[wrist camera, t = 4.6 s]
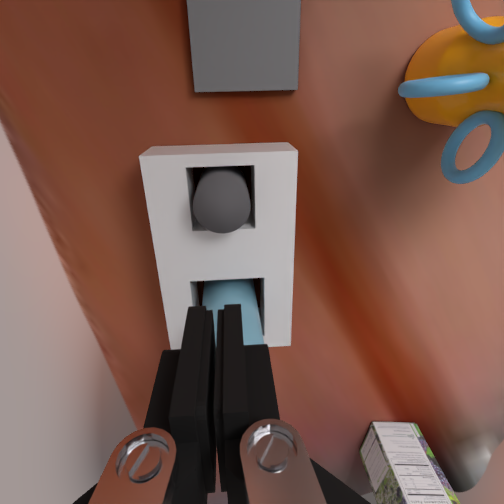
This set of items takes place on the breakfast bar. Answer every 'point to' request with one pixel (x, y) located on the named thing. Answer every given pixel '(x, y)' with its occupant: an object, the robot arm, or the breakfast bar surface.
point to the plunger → (222, 199)
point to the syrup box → (403, 466)
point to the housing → (228, 244)
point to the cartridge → (235, 293)
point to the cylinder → (461, 86)
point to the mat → (244, 44)
